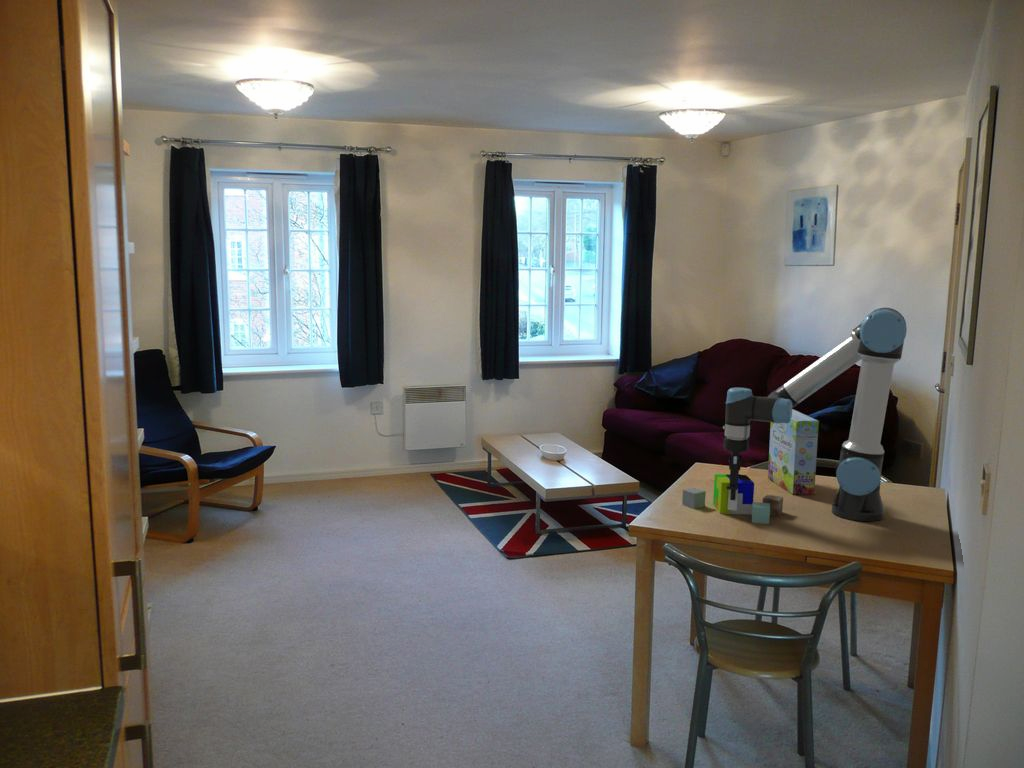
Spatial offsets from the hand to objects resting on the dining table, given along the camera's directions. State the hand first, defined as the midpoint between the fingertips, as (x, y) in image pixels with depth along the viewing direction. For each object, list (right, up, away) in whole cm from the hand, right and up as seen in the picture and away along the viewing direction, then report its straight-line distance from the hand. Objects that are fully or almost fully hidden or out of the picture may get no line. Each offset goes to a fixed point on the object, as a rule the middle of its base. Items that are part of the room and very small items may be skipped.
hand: (732, 503), depth 267 cm
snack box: (+27, +2, +28) cm, 39 cm away
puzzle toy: (0, -2, 0) cm, 2 cm away
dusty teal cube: (+6, -4, -11) cm, 13 cm away
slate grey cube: (-12, -1, +3) cm, 12 cm away
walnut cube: (+12, -3, -3) cm, 12 cm away
